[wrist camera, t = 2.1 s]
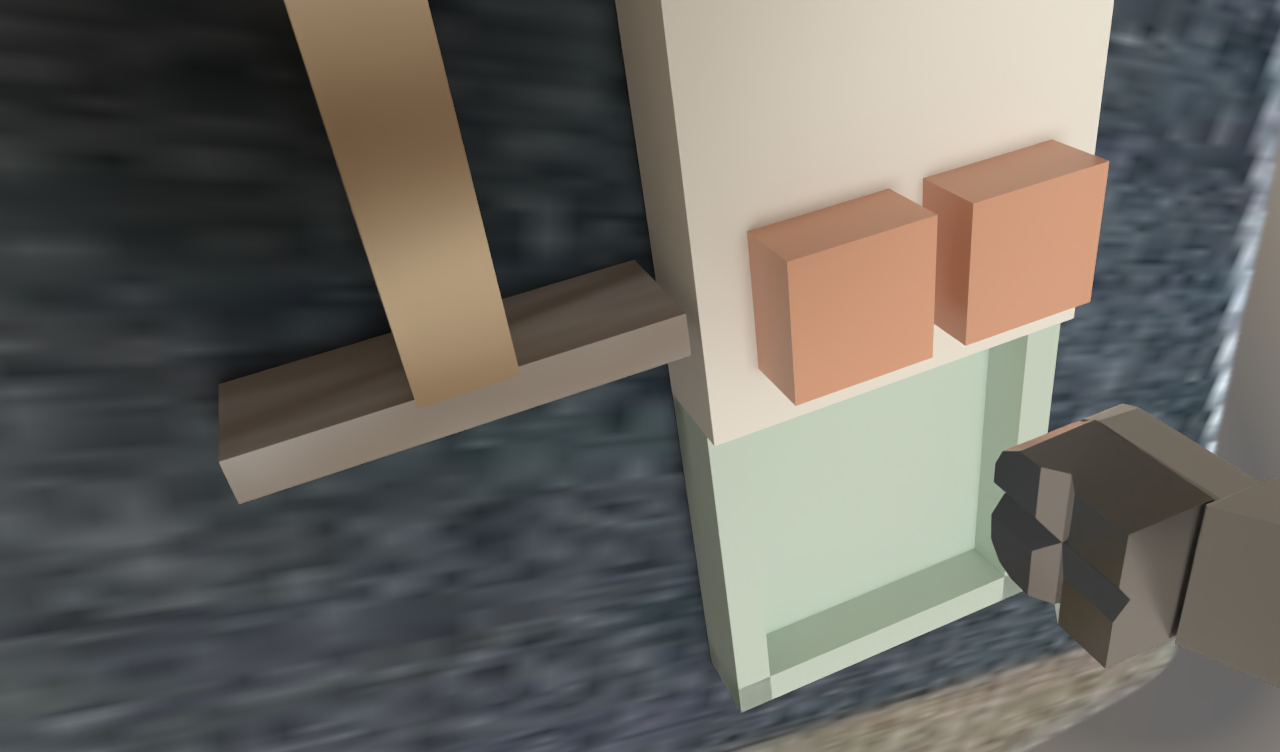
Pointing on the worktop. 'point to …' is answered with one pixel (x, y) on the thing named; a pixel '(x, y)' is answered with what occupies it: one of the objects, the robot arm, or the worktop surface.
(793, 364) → the tile
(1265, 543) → the robot arm
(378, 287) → the scraper
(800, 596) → the tray
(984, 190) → the tile
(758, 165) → the board
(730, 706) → the worktop surface
